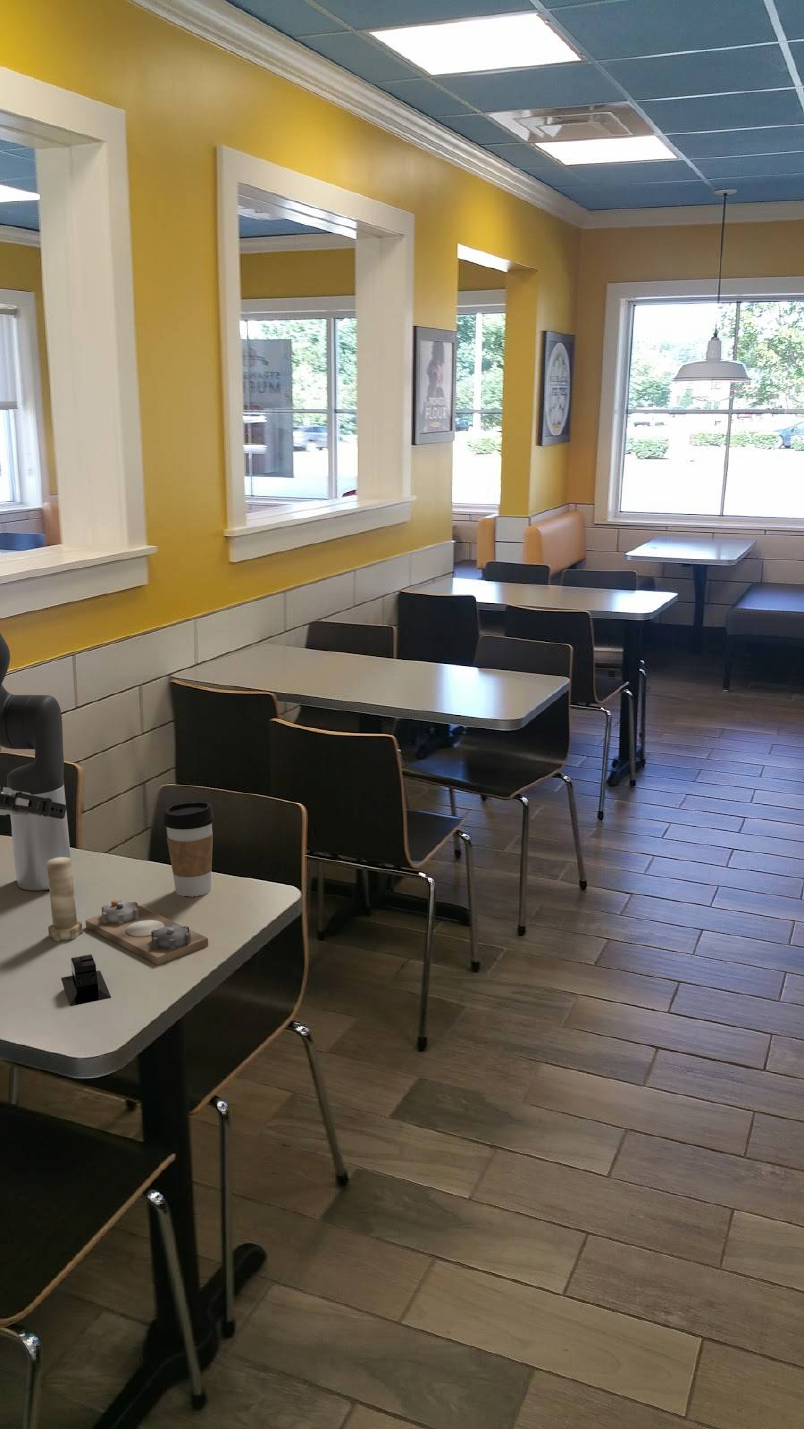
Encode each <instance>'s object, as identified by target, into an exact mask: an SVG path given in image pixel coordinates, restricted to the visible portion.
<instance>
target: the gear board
mask: <svg viewBox="0 0 804 1429" xmlns="http://www.w3.org/2000/svg"><path fill="white" fill-rule="evenodd" d="M85 927H86V928H87V929H88V930H90V931H92V932H94V933H95V934H96V933H97V934H98V935H100V936H102V937H103V938H105V939H107V940H109V941H111V942H113V943H115V944H118V945H119V946H121V947H123V948H125V949H127V950H129V951H130V952H132V953H134V954H135V955H138V956H140V957H142V958H143V959H146V960H147V961H149V962H152V963H153V964H155V965H157V966H159V965H161V964H164V963H167V962H169V961H172V960H174V959H177V958H179V957H182V956H185V955H187V954H190V953H193V952H195V951H197V950H200V949H203V948H205V947H208V946H209V938H208V937H207V936H204V935H202V934H200V933H198V932H197V931H194V930H192V929H190V927H189V926H187V925H184V926H183V925H181V924H179V923H177V922H175V921H173V920H171V919H168V918H166V917H164V916H162V915H160V914H158V913H155V912H153V911H152V910H150V909H148V908H145V907H143V906H141V905H139V904H138V902H137V901H133V902H129V901H123V900H113V901H111V902H110V904H107V905H103V906H101V914H100V915H96V916H94V917H91V918H87V919H86V920H85Z"/></svg>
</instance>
